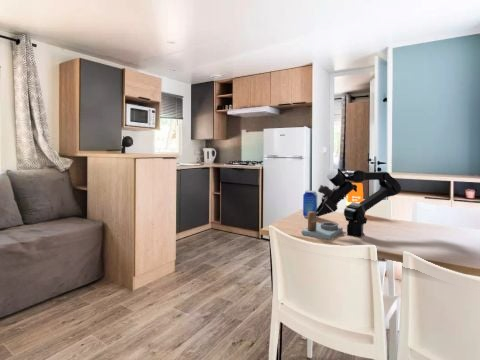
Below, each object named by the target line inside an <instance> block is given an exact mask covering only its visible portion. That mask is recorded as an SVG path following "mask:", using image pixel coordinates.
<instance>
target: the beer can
mask: <svg viewBox="0 0 480 360" xmlns="http://www.w3.org/2000/svg"><path fill="white" fill-rule="evenodd" d="M317 208H318V193H317V191H316V190H305V191H304V193H303V195H302V216H303V217H304V218H305V219H308V212H310V211H314V212H316V210H317Z"/></svg>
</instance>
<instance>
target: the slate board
mask: <svg viewBox="0 0 480 360" xmlns="http://www.w3.org/2000/svg"><path fill="white" fill-rule="evenodd" d="M343 230H344V229H343V227H340V226H339V225H338V223H335V222H330V221H329V222H327V221H325V222H320V223H316V231H314V232H311V231H308V227H307V228H304V229H302V230H301V235H302V234H304V235H303V236H307V235H309V236H308V237H313V236H314V238H318V237H319V238H320V239H323V238H324V239H323V240H331V239H333V238H334V237H335V236H338V235H339V234H341V233H343ZM319 238H318V239H319Z"/></svg>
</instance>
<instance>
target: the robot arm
mask: <svg viewBox="0 0 480 360" xmlns="http://www.w3.org/2000/svg"><path fill="white" fill-rule="evenodd" d="M326 178H327V180H328V181H329V182H330V183H331V184H333V185H334V186H335V188H334V187H333V188H330V187H329V186H327V185H322V184H320V186H319V188H318V190H317V191H318V192H319V193H320V194H323V195H322V197H321V202H320V203H319V205H318V206H317V210H316V212H317V214H316V216H317V218H319V217H321V216H325V215H327V214H331V213H334V212H336V211H337V210H338V204H339V202H341V201H342V200H344V199H345V198H346V195H347V194H348V193H350V192H351V191H352V190H354V191H355V192H357V186H356V185H355V184H354V185H353V184H352V183H362V182H364V181H378V184H379V189H378V190H377V191H375V192H374V193H372V194H371V195H369V196H368V197H366V198H365V199H363V201H362V202H360V203H355V202H352V203H351V204H350V205H347V207H345V208H344V209H343V216H344V217H345V221H346V222H348V224H347V225H346V226H347V227H346V235H347V236H352V237H357V238H361V237H362V236H364V235H365V233H364V225H366V224H367V222H368V219H367V217H366V212H368V211H369V210H370V209H371V208H373V207H375V206H376V205H377V204H379V203H380V202H382V201H383V200H385V199H386V198H388V197H393V196H396V195H398V194H400V192H401V191H402V187H401V184H400V183H399V182H398V180H397V179H395V178H394V177H393V176H391V174H390V173H389V172H387V171H363V170H358V169H347V170H346V172H343V171H342V170H341V169H340V168H339V167H336V168H334V169H333V170H331V171H330V172H328V173H327V177H326Z"/></svg>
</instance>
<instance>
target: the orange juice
mask: <svg viewBox="0 0 480 360" xmlns="http://www.w3.org/2000/svg"><path fill="white" fill-rule="evenodd" d="M351 183H352V184H353V185H354V184H355V185H356V186H357V192H355V191H354V190H352V191H351V192H350V193H348V194H347V195H346V196H345V198H346V200H345V206H346V207H347V205H350V204H351V203H352V202H355V203H360V202H362V201H363V200H364V190H363V189H364V188H363V183H362V182H358V183H357V182H351ZM346 207H345V208H346Z"/></svg>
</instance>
